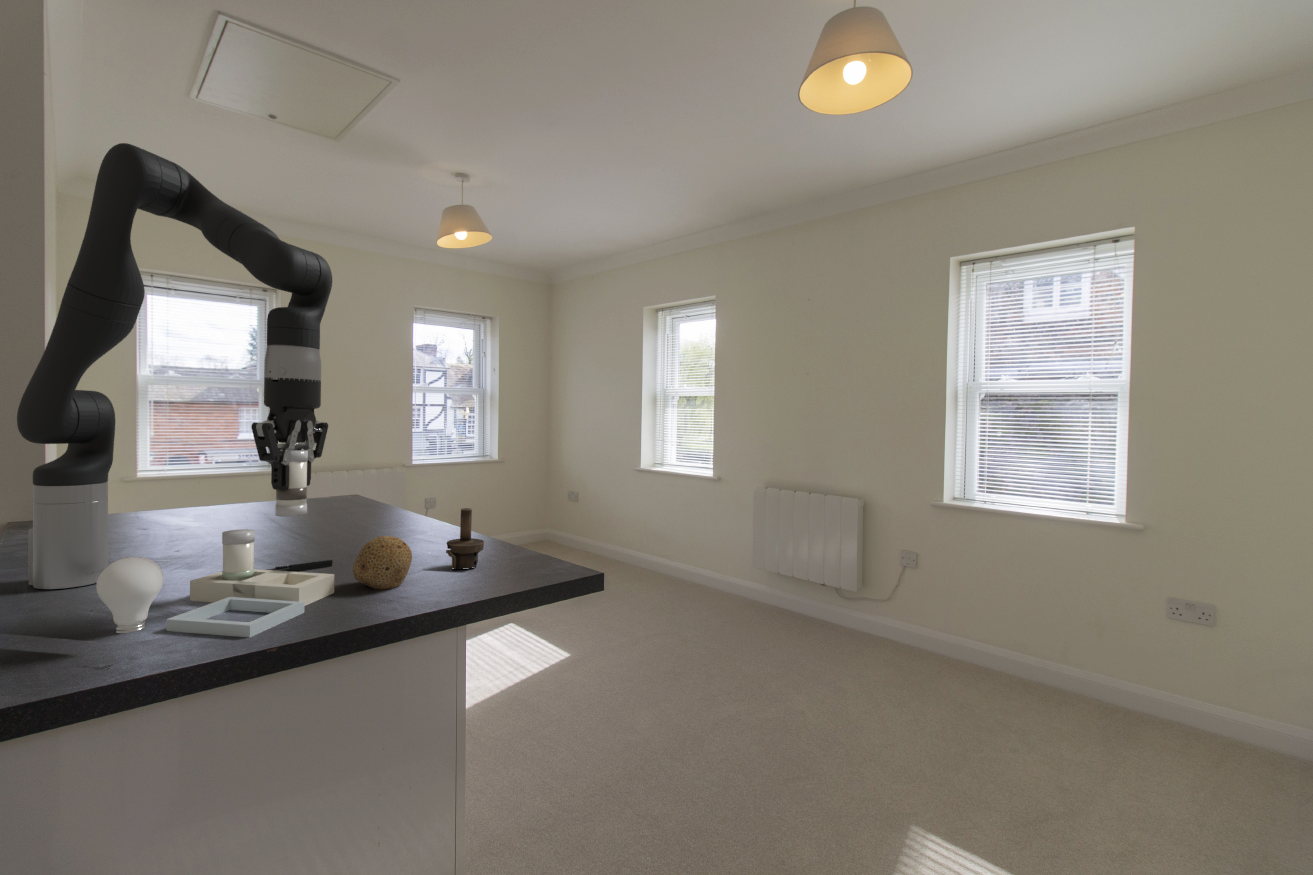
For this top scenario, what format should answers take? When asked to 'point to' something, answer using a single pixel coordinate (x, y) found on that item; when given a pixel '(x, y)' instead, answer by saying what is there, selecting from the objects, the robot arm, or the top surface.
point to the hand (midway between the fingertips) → (291, 487)
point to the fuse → (238, 554)
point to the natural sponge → (383, 563)
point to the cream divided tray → (265, 586)
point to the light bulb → (130, 591)
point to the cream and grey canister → (294, 487)
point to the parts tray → (200, 624)
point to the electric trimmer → (304, 566)
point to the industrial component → (465, 544)
